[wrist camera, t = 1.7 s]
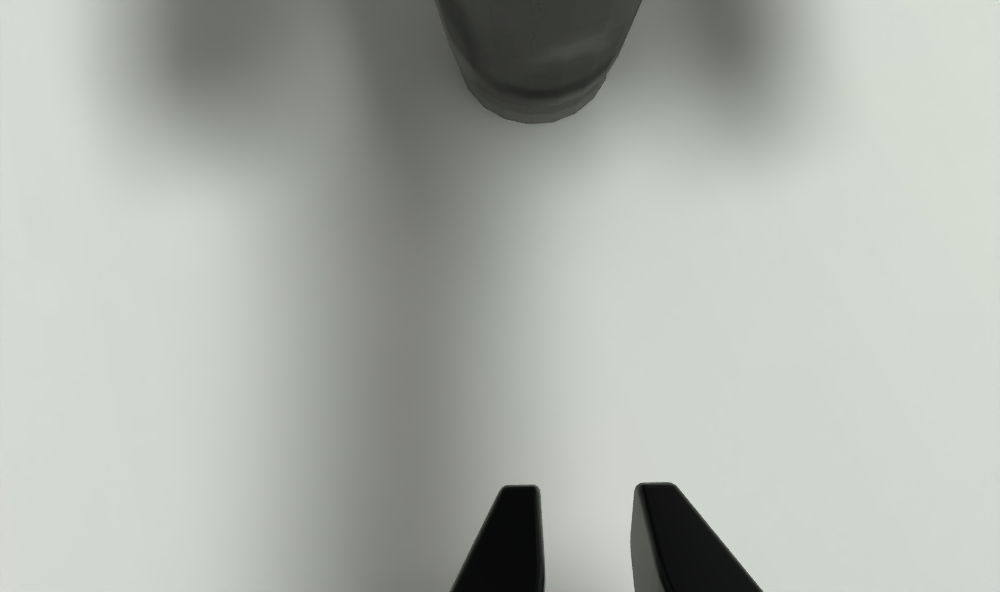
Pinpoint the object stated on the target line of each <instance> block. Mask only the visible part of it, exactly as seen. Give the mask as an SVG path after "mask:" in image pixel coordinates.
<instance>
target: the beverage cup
mask: <svg viewBox="0 0 1000 592" xmlns="http://www.w3.org/2000/svg"><path fill="white" fill-rule="evenodd" d="M641 1H642V0H435V2H436V5H437V8H438V11H439V14H440V17H441V20H442V23H443V26H444V30H445V33H446V36H447V39H448V42H449V45H450V47H451V49H452V52H453V54H454V56H455V59H456V61H457V63H458V66H459V68H460V70H461V73H462V75H463V77H464V80H465V82H466V84H467V86H468V89H469V91H470V92H471V93H472V94H473V95H474V96H475V97H476V98H477V99H478V100H479V102H480V103H481V104H482V105H483V106H484V107H485V108H487V109H489V110H491V111H492V112H494V113H496V114H498V115H499V116H501V117H503V118H505V119H509V120H513V121H518V122H522V123H527V124H534V123H547V122H554V121H557V120H559V119H562V118H564V117H567V116H569V115H572V114H575V113H576V112H577V111H578V110H580V109H581V108H582V107H583V106H585V105H586V104H587V103H588V102H590V101H591V100H592V99H593V98H594V96H595V95H596V93H597V92H598V90H599V89H600V87H601V85H602V84H603V82H604V81H605V78H606V74H607V73H608V71H609V69H610V68H611V66H612V65H613V63H614V62H615V60H616V58H617V57H618V55H619V52H620V50H621V48H622V46H623V43H624V41H625V39H626V36H627V34H628V32H629V29H630V27H631V25H632V22H633V20H634V18H635V15H636V13H637V11H638V8H639V6H640V4H641Z"/></svg>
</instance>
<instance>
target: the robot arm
mask: <svg viewBox="0 0 1000 592" xmlns="http://www.w3.org/2000/svg"><path fill="white" fill-rule="evenodd" d="M630 544H631V559H632V569H633V579H634V588H635V592H763V591H762V590H761V588H760V587H759V586H758V585H757V583H756V582H755V581H754V580H753V579H752V577H751V576H750V575H749V574H748V572H747V571H746V570H745V569H744V568H743V566H742V565H741V564H740V563H739V561H738V560H737V559H736V558H735V557H734V555H733V554H732V553H731V552H730V551H729V549H728V548H727V547H726V546H725V544H724V543H723V542H722V541H721V540H720V538H719V537H718V536H717V535H716V533H715V532H714V531H713V530H712V529H711V527H710V526H709V525H708V524H707V522H706V521H705V520H704V519H703V518H702V516H701V515H700V514H699V513H698V511H697V510H696V509H695V508H694V507H693V505H692V504H691V503H690V502H689V500H688V499H687V498H686V497H685V496H684V494H683V493H682V492H681V491H680V489H679V488H678V487H677V486H676V485H674V484H673V483H670V482H652V483H640V484H638V485H637V486H636V488H635V491H634V500H633V512H632V524H631V538H630ZM450 592H545V557H544V542H543V526H542V511H541V495H540V489H539V488H538V486H536V485H506V486H504V487H502V488H501V490H500V491H499V493H498V495H497V497H496V499H495V501H494V503H493V505H492V507H491V509H490V511H489V513H488V515H487V517H486V519H485V521H484V523H483V525H482V527H481V529H480V531H479V533H478V535H477V537H476V539H475V541H474V543H473V545H472V547H471V549H470V551H469V553H468V555H467V557H466V559H465V561H464V563H463V565H462V567H461V569H460V571H459V573H458V575H457V577H456V580H455V582H454V584H453V586H452V588H451V590H450Z"/></svg>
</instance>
